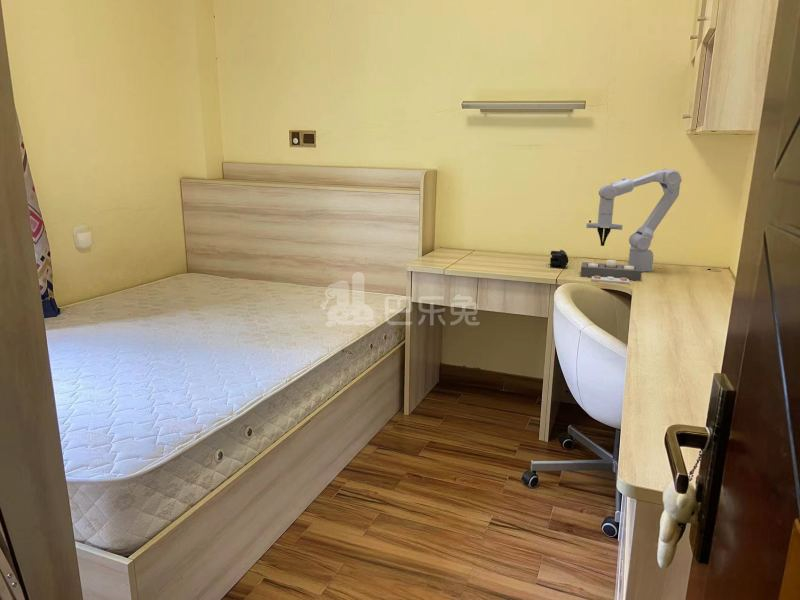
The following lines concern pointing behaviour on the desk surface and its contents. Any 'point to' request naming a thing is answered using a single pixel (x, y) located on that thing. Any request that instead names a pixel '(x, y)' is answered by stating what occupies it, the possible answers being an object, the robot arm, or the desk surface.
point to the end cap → (558, 259)
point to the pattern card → (610, 279)
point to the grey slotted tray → (611, 271)
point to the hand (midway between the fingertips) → (602, 245)
